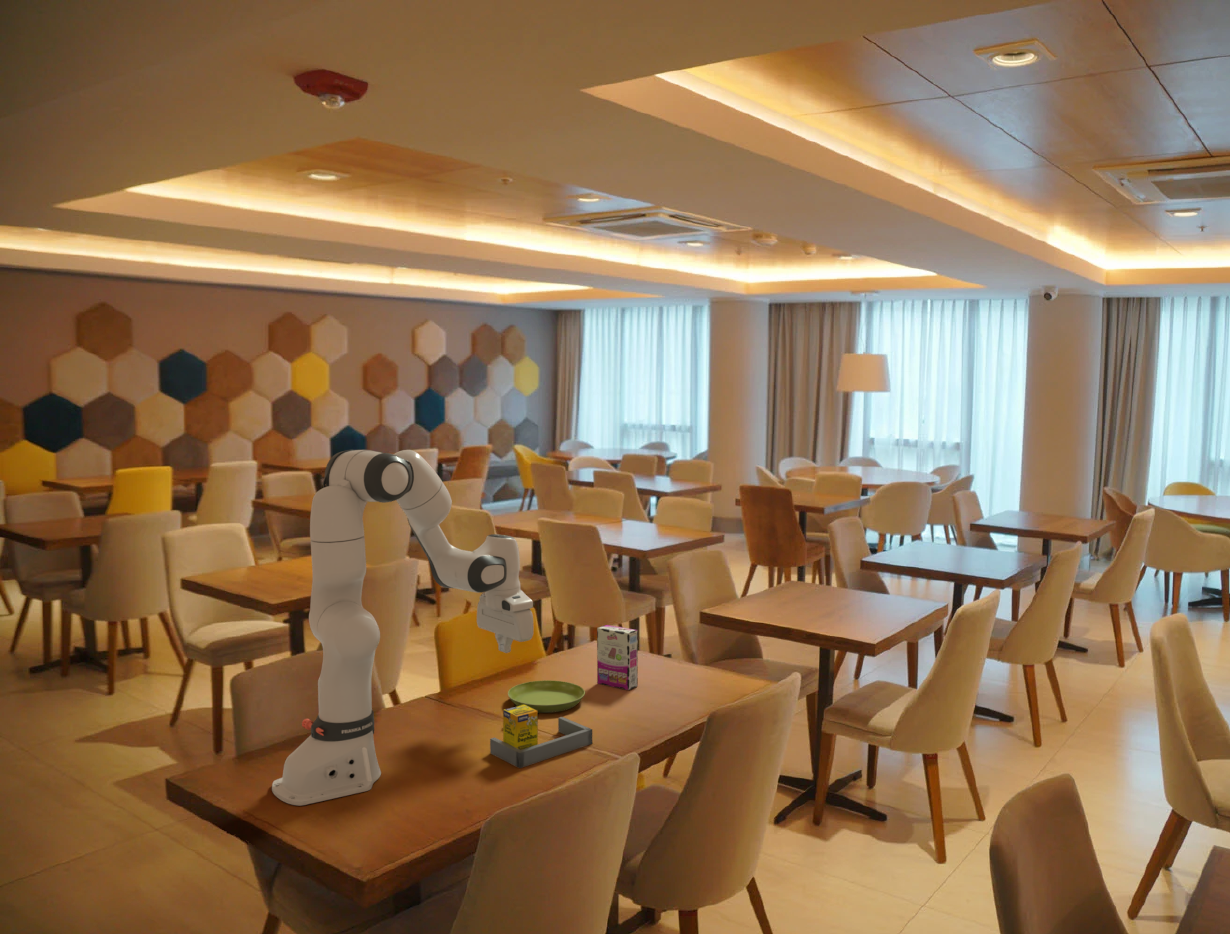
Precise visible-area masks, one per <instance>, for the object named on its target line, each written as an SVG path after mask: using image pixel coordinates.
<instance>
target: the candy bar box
mask: <svg viewBox="0 0 1230 934" xmlns="http://www.w3.org/2000/svg"><path fill="white" fill-rule="evenodd" d="M638 637H639V634H638V629H632V628H627V627H623V626H616V625H615V626H614V625H610V624H606V625H602V626H599V627H597V628H596V643H597V644H596V651H597V652H596V657H597V659H596V664H597V665H596V666H597V668H596V670H597V674H596V676H597V680H596V681H597V682H596V683H597V684H599V685H602V686H606V687H611V688H616V689H620V690H626V691H630V690H633V689H636V688H637V687H638V685H639V684H638V679H639V678H638V677H639V676H638V675H639V674H638V673H639V672H638V668H639V667H638V662H639V661H638V660H639V659H638V656H639V655H638V654H639V653H638V649H639V648H638V647H639V646H638V645H639V644H638Z"/></svg>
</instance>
